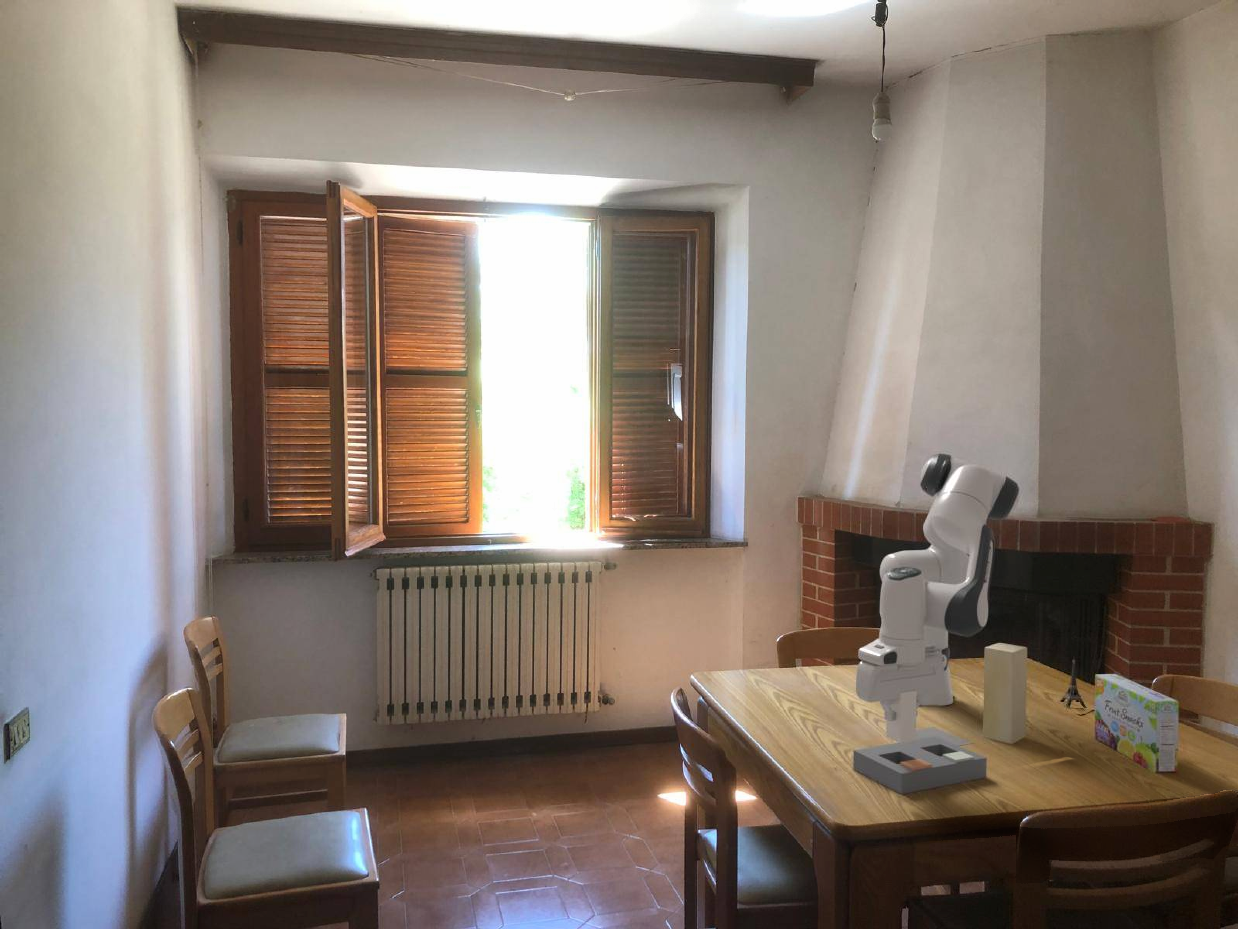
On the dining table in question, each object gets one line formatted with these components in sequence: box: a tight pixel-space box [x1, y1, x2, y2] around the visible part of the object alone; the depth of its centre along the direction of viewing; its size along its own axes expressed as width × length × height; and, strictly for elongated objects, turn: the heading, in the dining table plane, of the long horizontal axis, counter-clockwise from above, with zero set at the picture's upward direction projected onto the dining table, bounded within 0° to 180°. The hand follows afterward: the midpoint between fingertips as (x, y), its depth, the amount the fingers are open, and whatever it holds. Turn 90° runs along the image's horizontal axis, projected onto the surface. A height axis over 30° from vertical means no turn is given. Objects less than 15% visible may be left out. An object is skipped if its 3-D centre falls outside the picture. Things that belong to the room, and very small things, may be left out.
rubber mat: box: [916, 727, 974, 747], centre depth 205 cm, size 12×12×1 cm
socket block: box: [852, 736, 988, 795], centre depth 185 cm, size 14×22×4 cm, turn 115°
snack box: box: [1094, 673, 1180, 774], centre depth 197 cm, size 21×6×15 cm, turn 5°
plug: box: [885, 690, 917, 743], centre depth 182 cm, size 4×4×10 cm
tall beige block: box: [982, 642, 1028, 745], centre depth 207 cm, size 8×7×21 cm
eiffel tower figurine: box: [1058, 658, 1093, 708], centre depth 233 cm, size 15×10×13 cm
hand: (900, 718), depth 182 cm, fingers closed on plug, 4 cm apart
